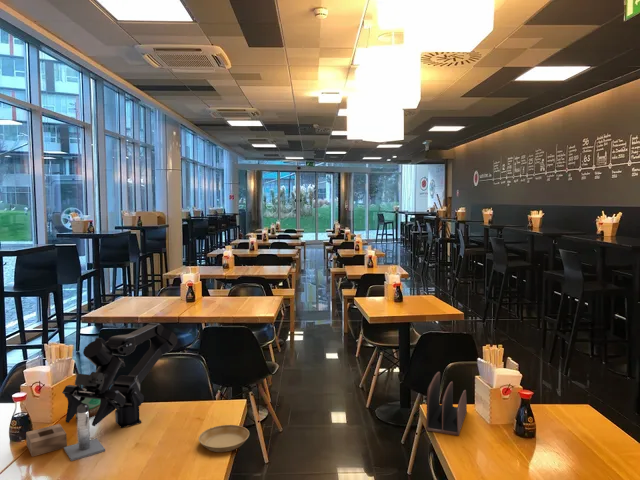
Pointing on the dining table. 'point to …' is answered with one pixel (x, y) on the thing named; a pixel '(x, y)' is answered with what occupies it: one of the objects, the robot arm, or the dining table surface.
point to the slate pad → (76, 454)
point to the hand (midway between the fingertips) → (79, 423)
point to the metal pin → (83, 426)
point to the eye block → (46, 439)
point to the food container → (91, 405)
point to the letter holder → (444, 409)
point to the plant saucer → (224, 438)
